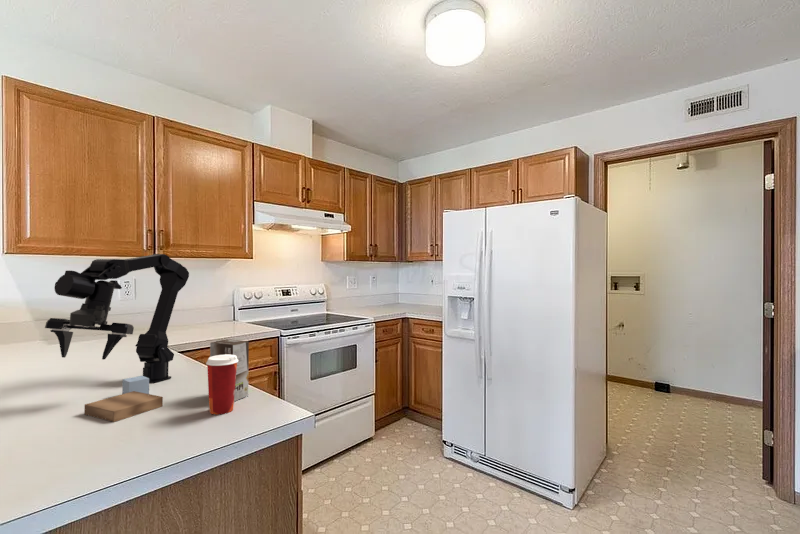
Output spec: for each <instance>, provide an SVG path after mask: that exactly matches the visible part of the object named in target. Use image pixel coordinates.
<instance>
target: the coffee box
mask: <svg viewBox="0 0 800 534" xmlns="http://www.w3.org/2000/svg"><path fill="white" fill-rule="evenodd" d="M249 345H250V341H247V340H240V339H239V340H238V339H220V340H216V341H213V342H210V345H209V348H210V349H209V350H210V352H209V354H210V355H209V357H212V356H216V355H226V354H229V355H236V356H237V359H238V362H237V369H236V382H235V395H234V402H236V401H238V400H242V399H244V398H247V397H248V396H249V358H250V357H249V350H250V349H249V347H250V346H249ZM246 396H247V397H246Z"/></svg>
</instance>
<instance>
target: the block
mask: <svg viewBox="0 0 800 534" xmlns="http://www.w3.org/2000/svg"><path fill="white" fill-rule="evenodd" d="M121 385H122V388H121V389H122V391H121V392H122V394H125V393H129V392H133V391H136V392H141V393H146V394H150V382H149V378H147V377H145V376H143V375H138V376H133V377H127V378H122V384H121Z"/></svg>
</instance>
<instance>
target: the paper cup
mask: <svg viewBox="0 0 800 534" xmlns="http://www.w3.org/2000/svg"><path fill="white" fill-rule="evenodd" d="M237 362H238V359H237V356H236V355H229V354H226V355H216V356H212V357H210V356H209V357H208V358H207V361H206V363H205V364H206V366H207V367H206V368H207V386H208V388H207V389H208V391H207V392H208V403H209V404H208V407H209V413H210V414H211V415H214V414H215V416H218V415H219V414H221V415H226V414H228V413H231V412H233V410H234V404H235V401H234V395H235V382H236V369H237ZM225 413H226V414H225Z"/></svg>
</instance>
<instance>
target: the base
mask: <svg viewBox="0 0 800 534" xmlns="http://www.w3.org/2000/svg"><path fill="white" fill-rule="evenodd" d="M163 399H164V398H163V396H160V395H155V394H150V393H149V394H146V393H141V392H136V391H133V392H129V393H125V394H119V395H115V396H112V397H108V398H104V399H100V400H96V401H92V402H89V403H85V404H84V408H83V409H84V412H83V413H84V414H85V416H88V415H89V417H94V418H97V419H101V420H105V421H109V422H113V423H116V422H118V421H122V420H125V419H129V418H131V417H134V416H137V415H141V414H143V413H146V412H149V411H152V410H156V409H159V408H163Z"/></svg>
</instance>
